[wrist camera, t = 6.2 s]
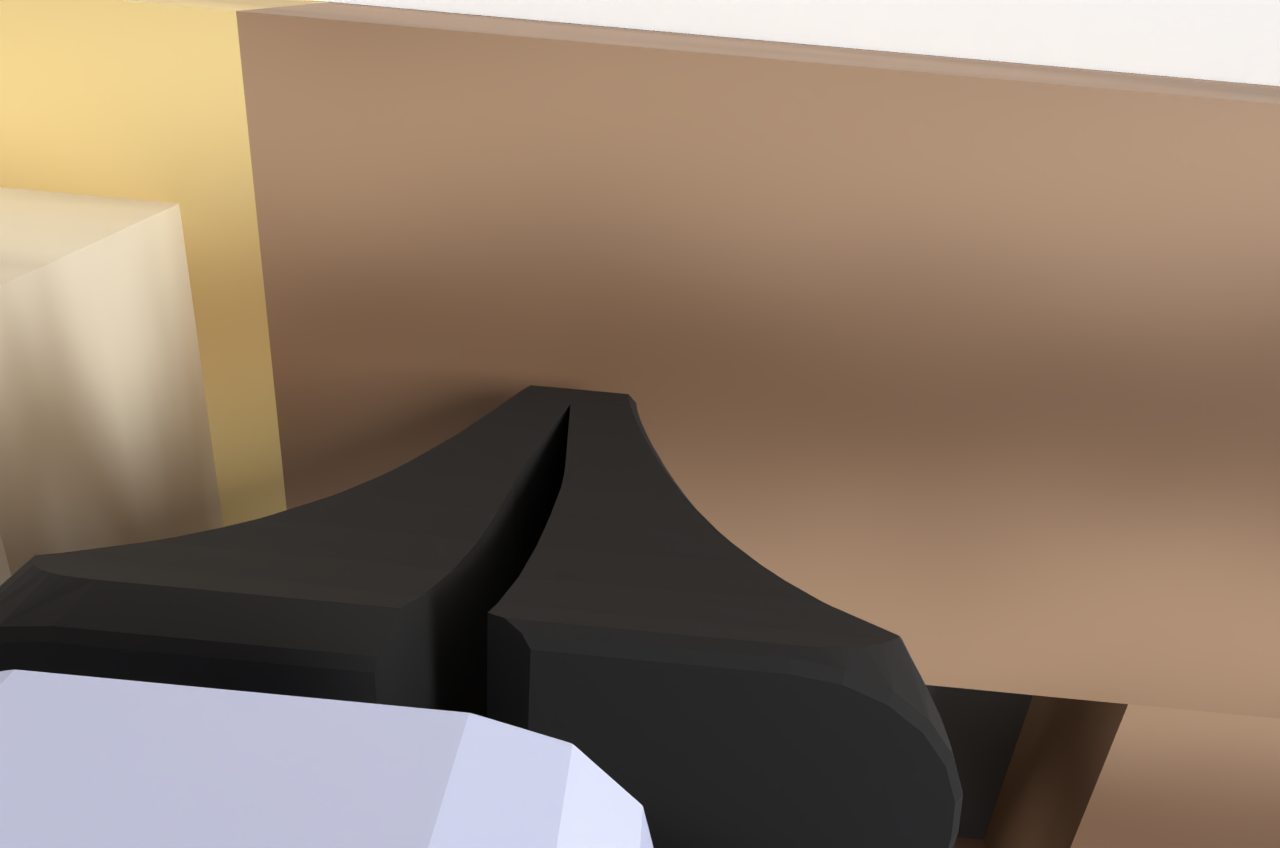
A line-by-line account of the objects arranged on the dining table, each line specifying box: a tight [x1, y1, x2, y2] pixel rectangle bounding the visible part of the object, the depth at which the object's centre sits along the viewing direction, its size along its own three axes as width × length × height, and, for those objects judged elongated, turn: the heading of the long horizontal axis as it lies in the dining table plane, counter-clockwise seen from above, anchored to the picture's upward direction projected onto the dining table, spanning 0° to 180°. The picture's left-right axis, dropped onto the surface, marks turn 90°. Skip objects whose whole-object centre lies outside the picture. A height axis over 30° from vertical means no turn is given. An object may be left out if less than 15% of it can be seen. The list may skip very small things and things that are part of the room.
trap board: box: [0, 0, 1280, 848], centre depth 15 cm, size 16×24×3 cm, turn 85°
